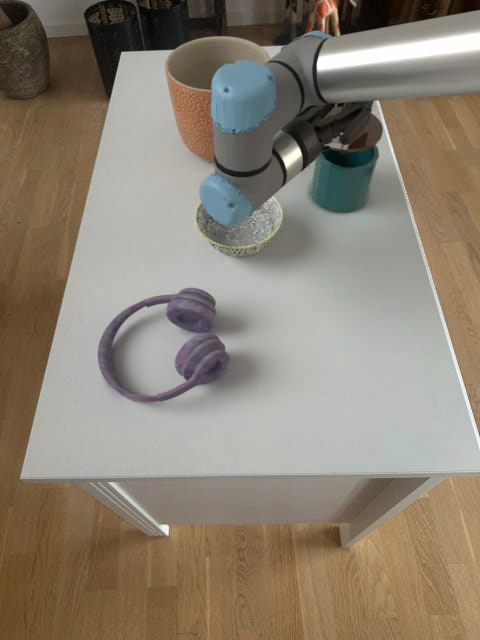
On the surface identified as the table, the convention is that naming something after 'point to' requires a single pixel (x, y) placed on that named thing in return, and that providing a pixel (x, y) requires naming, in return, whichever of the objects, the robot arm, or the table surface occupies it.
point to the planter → (202, 85)
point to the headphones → (194, 356)
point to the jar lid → (367, 135)
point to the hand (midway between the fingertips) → (369, 85)
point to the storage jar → (343, 179)
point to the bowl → (241, 229)
